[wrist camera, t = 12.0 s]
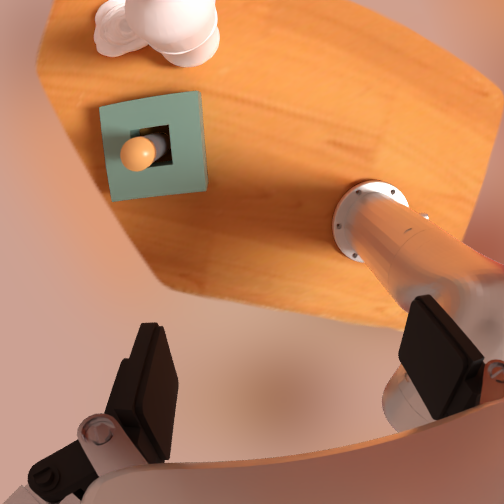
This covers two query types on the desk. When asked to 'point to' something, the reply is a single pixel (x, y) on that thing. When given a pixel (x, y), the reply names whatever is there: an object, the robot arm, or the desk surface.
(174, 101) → the socket block
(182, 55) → the water bottle
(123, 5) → the rose
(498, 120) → the desk surface
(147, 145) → the round peg
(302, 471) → the robot arm
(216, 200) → the desk surface
